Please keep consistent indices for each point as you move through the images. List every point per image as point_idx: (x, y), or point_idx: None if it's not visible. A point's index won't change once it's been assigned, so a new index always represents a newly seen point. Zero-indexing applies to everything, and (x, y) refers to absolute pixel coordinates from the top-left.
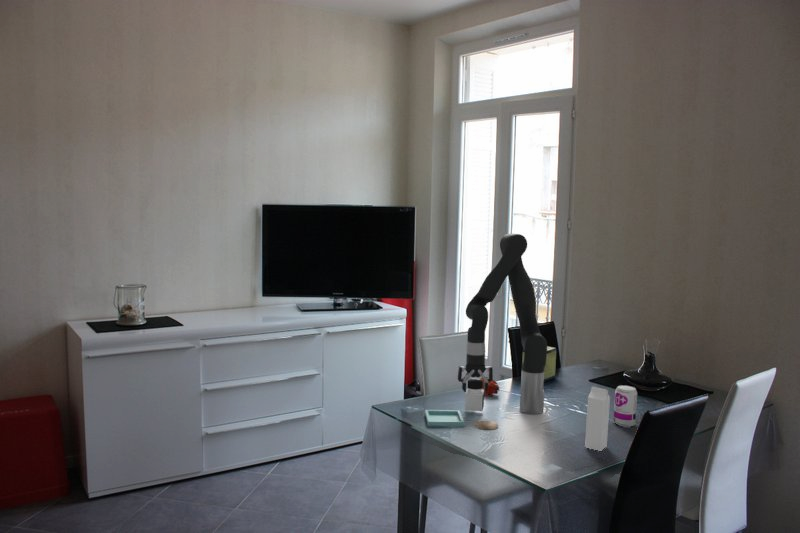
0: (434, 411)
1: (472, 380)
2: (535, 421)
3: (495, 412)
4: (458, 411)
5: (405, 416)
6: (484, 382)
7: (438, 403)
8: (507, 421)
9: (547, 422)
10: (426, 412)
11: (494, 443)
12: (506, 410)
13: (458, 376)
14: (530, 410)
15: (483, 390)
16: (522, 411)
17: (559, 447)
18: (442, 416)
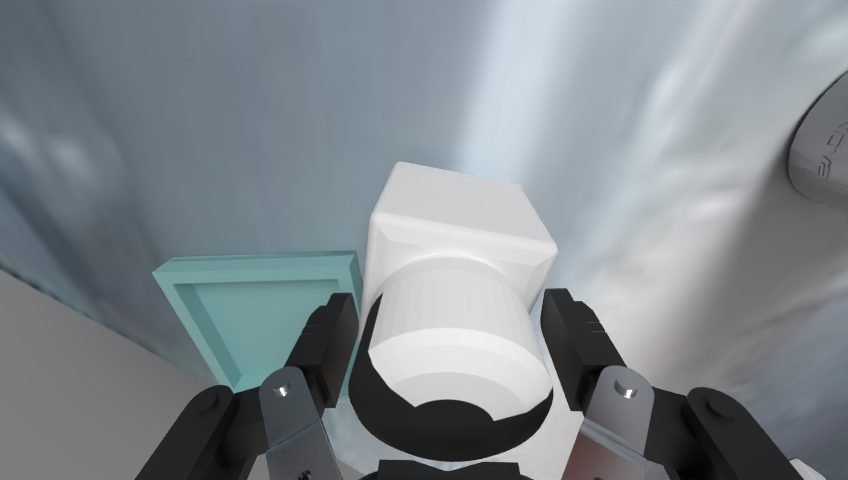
0: (210, 279)
1: (407, 441)
2: (749, 303)
3: (587, 185)
4: (343, 283)
5: (93, 286)
6: (576, 391)
7: (169, 7)
8: (596, 312)
9: (806, 311)
10: (176, 308)
11: (470, 461)
12: (688, 135)
13: (176, 454)
14: (841, 210)
15: (543, 280)
16: (791, 169)
17: (662, 475)
18: (270, 298)
